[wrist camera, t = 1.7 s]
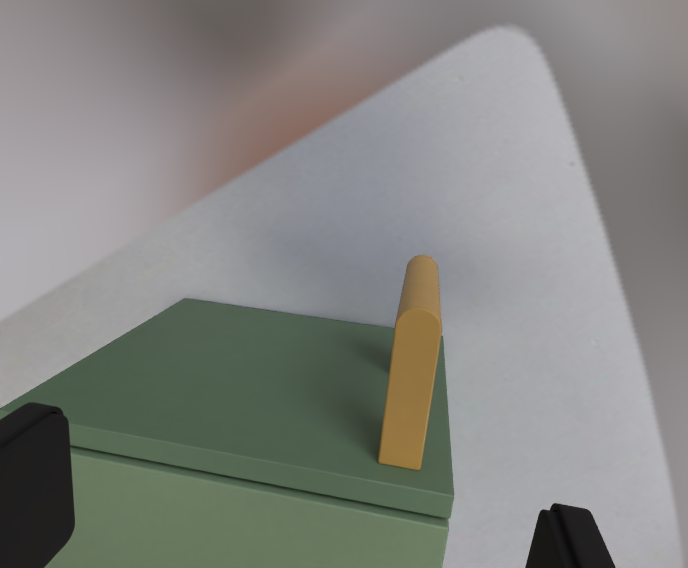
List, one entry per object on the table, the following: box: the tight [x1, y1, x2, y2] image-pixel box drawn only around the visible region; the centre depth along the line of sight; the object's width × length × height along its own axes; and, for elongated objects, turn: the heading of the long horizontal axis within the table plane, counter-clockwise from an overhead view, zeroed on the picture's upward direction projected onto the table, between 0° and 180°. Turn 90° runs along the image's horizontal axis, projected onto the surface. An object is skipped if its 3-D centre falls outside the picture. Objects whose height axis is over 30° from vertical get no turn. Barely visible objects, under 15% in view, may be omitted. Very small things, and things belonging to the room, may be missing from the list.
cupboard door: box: [0, 255, 454, 518], centre depth 25 cm, size 7×18×16 cm, turn 85°
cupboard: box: [44, 445, 449, 568], centre depth 28 cm, size 12×18×16 cm, turn 85°
